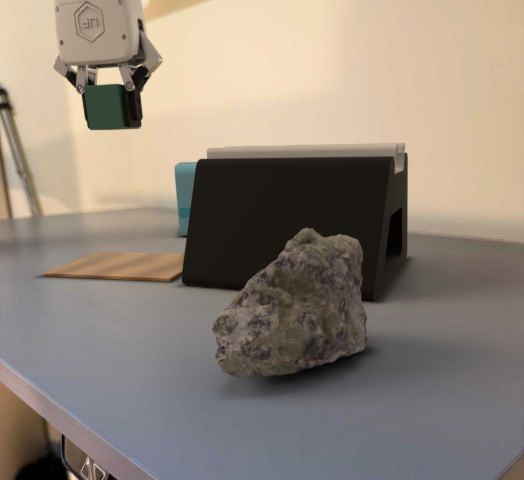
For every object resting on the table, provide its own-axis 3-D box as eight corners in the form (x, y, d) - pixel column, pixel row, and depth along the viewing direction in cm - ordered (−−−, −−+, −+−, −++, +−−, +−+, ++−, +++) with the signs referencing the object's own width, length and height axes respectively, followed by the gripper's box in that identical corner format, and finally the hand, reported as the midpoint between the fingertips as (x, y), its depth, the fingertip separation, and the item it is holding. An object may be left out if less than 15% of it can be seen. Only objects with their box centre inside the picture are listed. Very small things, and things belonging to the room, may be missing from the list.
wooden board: (43, 276, 70) (42, 273, 70) (100, 254, 83) (100, 251, 83) (169, 281, 66) (169, 278, 66) (210, 257, 78) (210, 254, 78)
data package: (205, 236, 94) (200, 164, 90) (179, 237, 94) (173, 165, 90) (207, 226, 105) (203, 161, 101) (184, 227, 105) (178, 162, 101)
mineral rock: (218, 399, 36) (208, 249, 32) (203, 343, 46) (194, 223, 42) (400, 378, 38) (410, 235, 34) (348, 329, 48) (352, 214, 44)
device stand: (256, 249, 83) (253, 144, 77) (406, 257, 74) (415, 140, 69) (182, 286, 63) (170, 150, 58) (373, 302, 55) (381, 146, 50)
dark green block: (89, 130, 67) (83, 85, 66) (108, 130, 71) (103, 88, 70) (122, 128, 66) (117, 83, 64) (140, 128, 70) (135, 86, 68)
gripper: (9, -44, 61) (39, 130, 68) (145, -64, 56) (163, 125, 63) (50, -27, 68) (73, 130, 74) (174, -43, 63) (187, 125, 70)
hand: (114, 126), depth 69 cm, fingers closed on dark green block, 4 cm apart
